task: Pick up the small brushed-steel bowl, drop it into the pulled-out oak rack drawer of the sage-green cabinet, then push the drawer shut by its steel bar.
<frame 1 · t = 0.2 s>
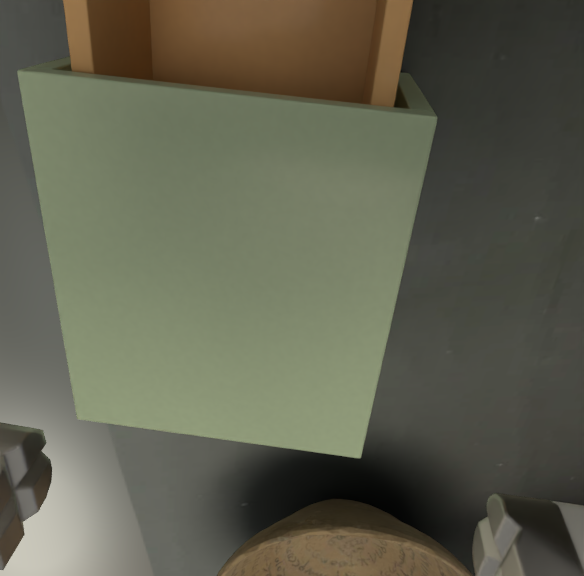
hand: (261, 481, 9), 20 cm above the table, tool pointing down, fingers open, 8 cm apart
cabinet: (256, 212, 28), on the table
bowl: (346, 518, 41), on the table
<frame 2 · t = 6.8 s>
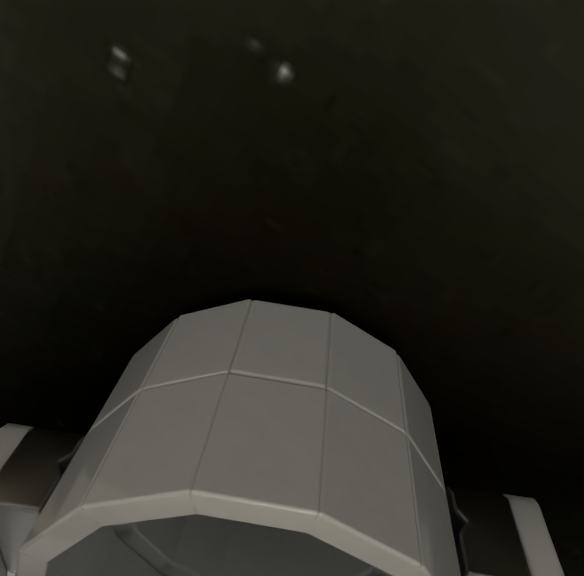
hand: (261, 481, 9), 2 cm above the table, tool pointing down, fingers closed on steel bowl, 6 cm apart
steel bowl: (275, 412, 11), on the table, touching gripper
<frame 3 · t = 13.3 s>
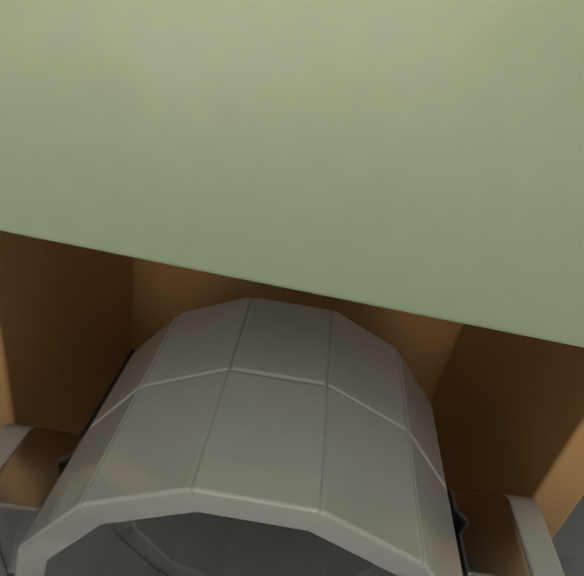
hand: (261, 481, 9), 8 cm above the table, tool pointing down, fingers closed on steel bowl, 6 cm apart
steel bowl: (276, 410, 11), point 6 cm above the table, touching gripper
drawer: (283, 367, 13), point 5 cm above the table, slide at 8.9 cm
when the fingers open (11 cm above the table, at t = 35.1 s): steel bowl drops 7 cm, resting on drawer.
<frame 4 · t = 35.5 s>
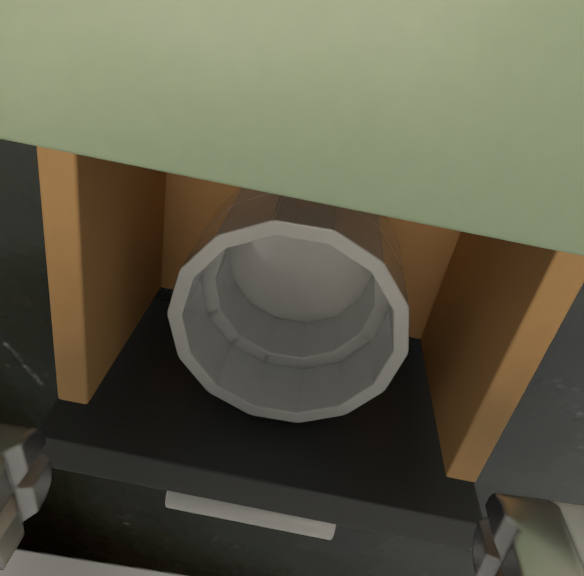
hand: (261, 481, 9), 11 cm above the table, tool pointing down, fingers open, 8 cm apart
steel bowl: (301, 255, 17), point 2 cm above the table, touching drawer
drawer: (296, 287, 15), point 5 cm above the table, slide at 8.4 cm, touching steel bowl
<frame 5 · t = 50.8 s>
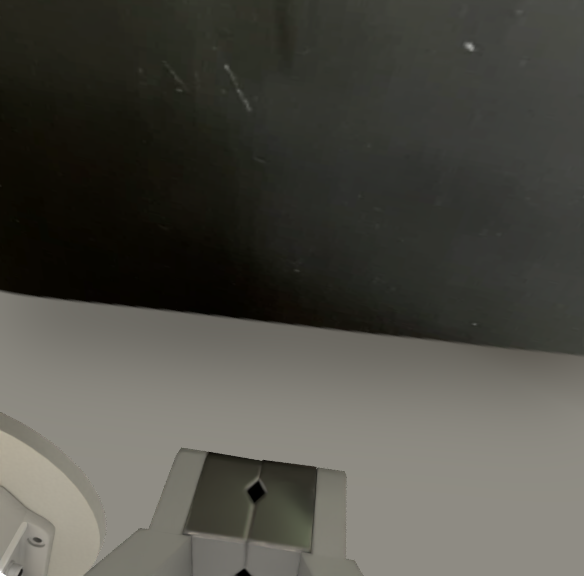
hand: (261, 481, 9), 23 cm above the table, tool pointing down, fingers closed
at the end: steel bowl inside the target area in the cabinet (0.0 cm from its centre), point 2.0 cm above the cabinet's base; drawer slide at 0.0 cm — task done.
